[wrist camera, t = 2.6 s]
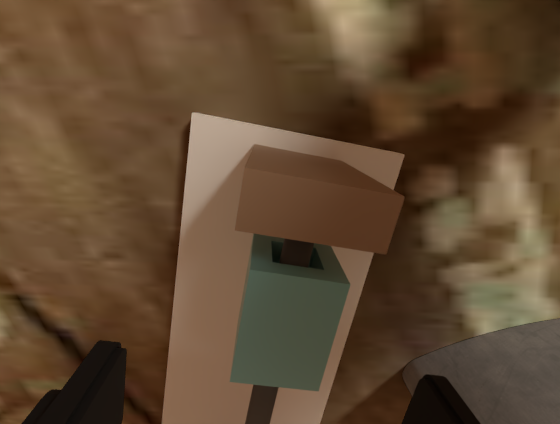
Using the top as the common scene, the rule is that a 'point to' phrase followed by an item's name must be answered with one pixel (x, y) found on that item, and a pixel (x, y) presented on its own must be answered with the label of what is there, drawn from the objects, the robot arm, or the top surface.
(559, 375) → the hip flask
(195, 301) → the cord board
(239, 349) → the sleeve
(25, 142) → the top surface
